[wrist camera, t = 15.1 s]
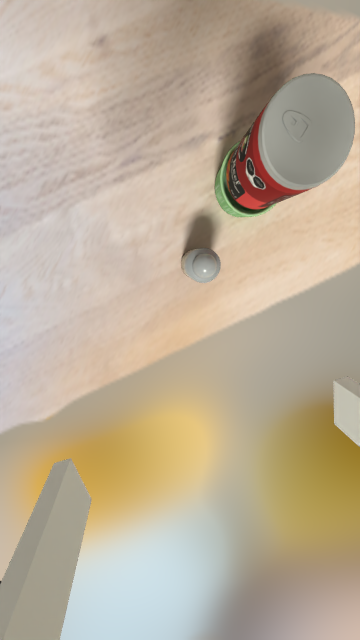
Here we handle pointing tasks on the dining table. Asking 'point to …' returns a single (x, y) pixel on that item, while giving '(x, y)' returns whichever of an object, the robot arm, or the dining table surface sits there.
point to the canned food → (293, 142)
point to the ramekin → (226, 198)
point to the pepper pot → (201, 264)
